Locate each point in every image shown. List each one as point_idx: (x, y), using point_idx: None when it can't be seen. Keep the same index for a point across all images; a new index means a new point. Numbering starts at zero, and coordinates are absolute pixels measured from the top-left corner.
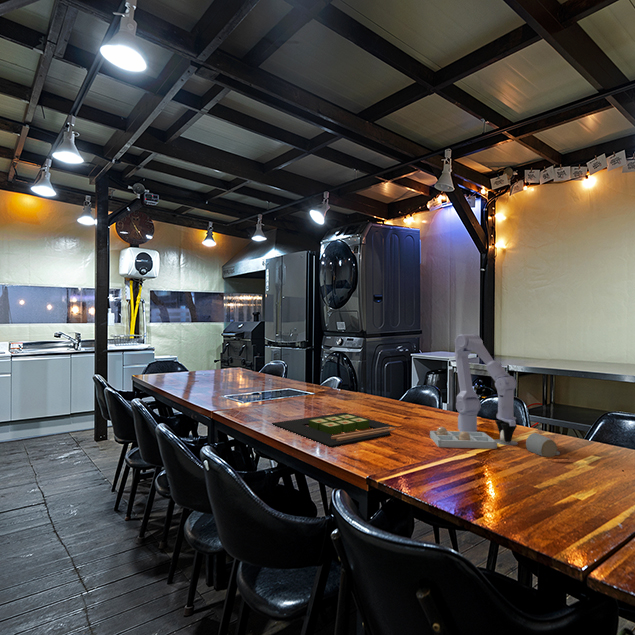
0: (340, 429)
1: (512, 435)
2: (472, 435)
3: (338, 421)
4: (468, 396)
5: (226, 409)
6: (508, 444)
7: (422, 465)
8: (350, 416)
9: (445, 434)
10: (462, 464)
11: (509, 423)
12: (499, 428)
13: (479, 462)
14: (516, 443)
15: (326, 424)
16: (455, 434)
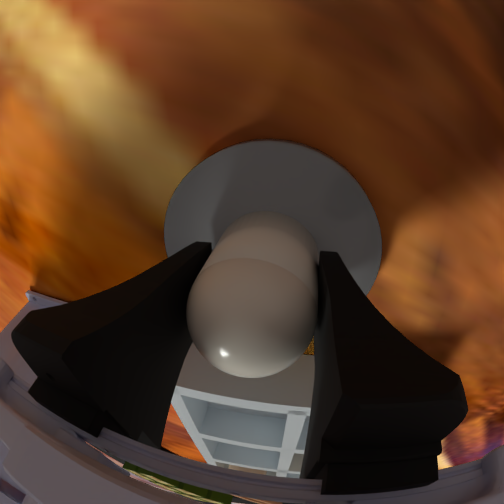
0: (213, 493)
1: (360, 288)
2: (198, 405)
3: (182, 491)
4: (7, 501)
5: (139, 480)
6: (355, 270)
7: (438, 469)
8: (133, 471)
9: (263, 474)
10: (474, 438)
11: (415, 494)
12: (178, 374)
13: (488, 416)
14: (318, 171)
15: (210, 500)
16: (212, 441)
